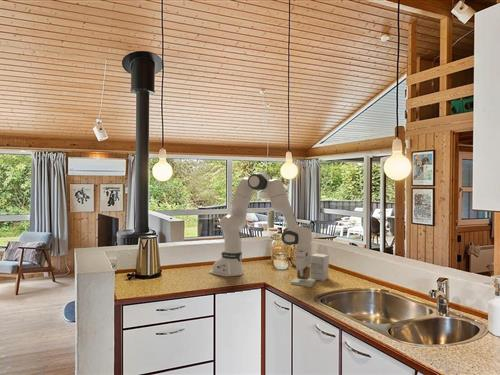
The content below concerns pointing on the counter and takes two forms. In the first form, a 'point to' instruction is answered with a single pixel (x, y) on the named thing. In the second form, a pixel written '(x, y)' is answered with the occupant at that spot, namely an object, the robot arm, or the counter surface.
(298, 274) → the block
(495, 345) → the counter surface
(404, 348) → the counter surface
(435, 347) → the counter surface
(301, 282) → the plate
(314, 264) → the supplement box
